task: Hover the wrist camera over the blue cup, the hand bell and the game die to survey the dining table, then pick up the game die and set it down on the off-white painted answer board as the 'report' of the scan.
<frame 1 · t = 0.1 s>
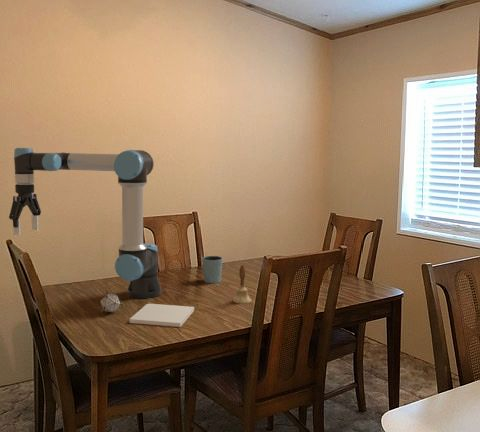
hand: (26, 232, 222), 28 cm above the table, fingers open, 13 cm apart
answer board: (163, 316, 201), on the table
game die: (110, 312, 204), on the table
hand bell: (242, 301, 224), on the table
blue cup: (212, 281, 255), on the table
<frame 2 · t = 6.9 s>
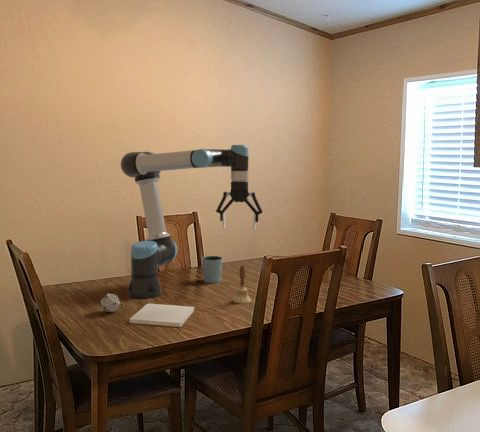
hand: (239, 229, 223), 31 cm above the table, fingers open, 13 cm apart
nothing on the table moved.
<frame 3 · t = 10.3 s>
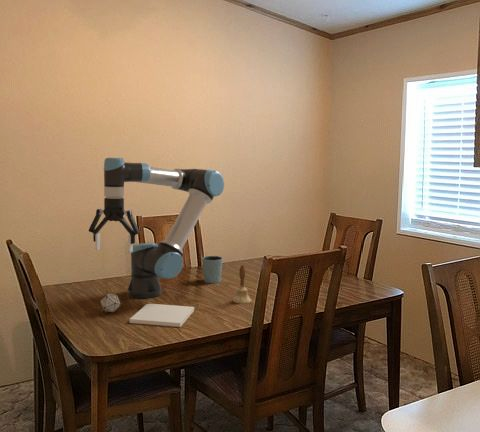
hand: (114, 250, 201), 25 cm above the table, fingers open, 13 cm apart
nothing on the table moved.
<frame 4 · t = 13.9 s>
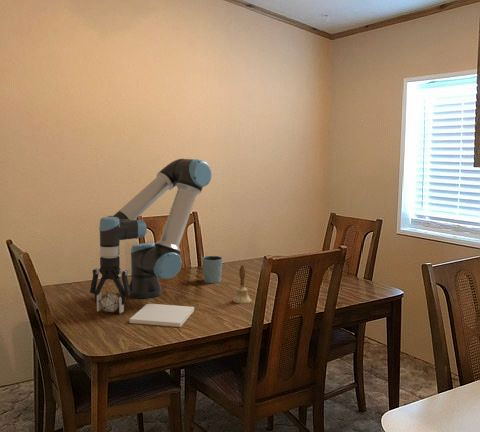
hand: (110, 311, 204), 0 cm above the table, fingers closed on game die, 9 cm apart
game die: (110, 312, 204), on the table, touching gripper
everything else where it was.
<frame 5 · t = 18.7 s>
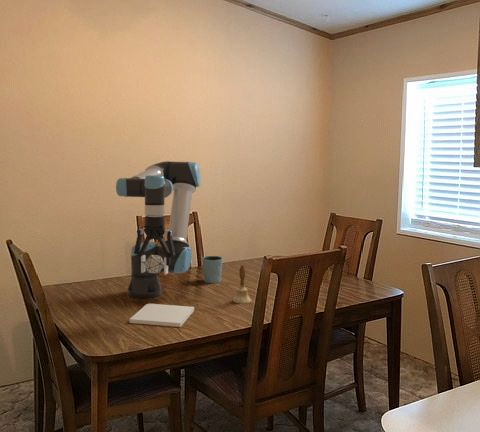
hand: (154, 272, 199), 17 cm above the table, fingers closed on game die, 9 cm apart
game die: (154, 274, 199), point 17 cm above the table, touching gripper
everything else where it was.
when the fingers open (2 cm above the table, at t = 23.4 s): game die stays where it is, resting on answer board.
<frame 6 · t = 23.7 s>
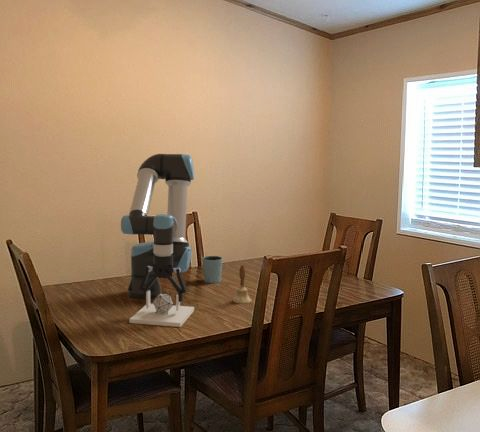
hand: (163, 308, 200), 3 cm above the table, fingers open, 11 cm apart
game die: (163, 313, 200), point 1 cm above the table, touching answer board
everything else where it was.
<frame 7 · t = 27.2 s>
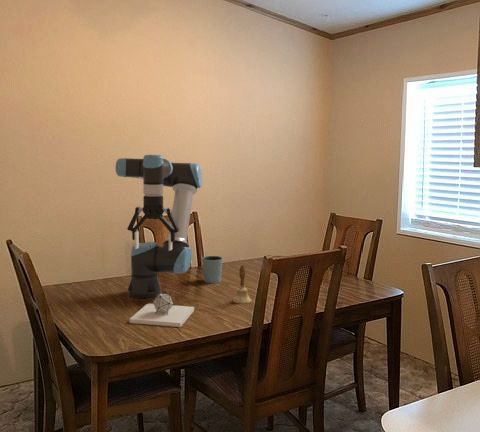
hand: (153, 249, 199), 27 cm above the table, fingers open, 13 cm apart
nothing on the table moved.
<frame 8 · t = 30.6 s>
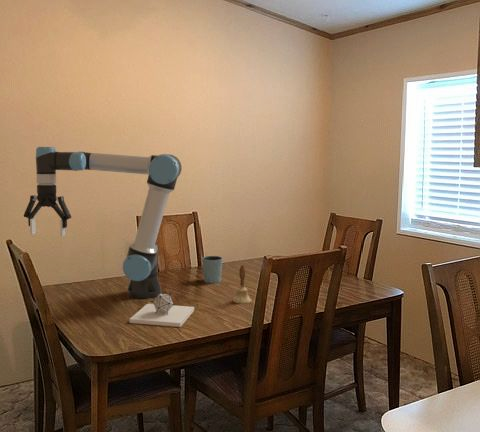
hand: (47, 234, 213), 29 cm above the table, fingers open, 13 cm apart
nothing on the table moved.
at the end: game die 0.1 cm from the answer board (horizontally); game die touching answer board; the gripper is holding nothing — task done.
